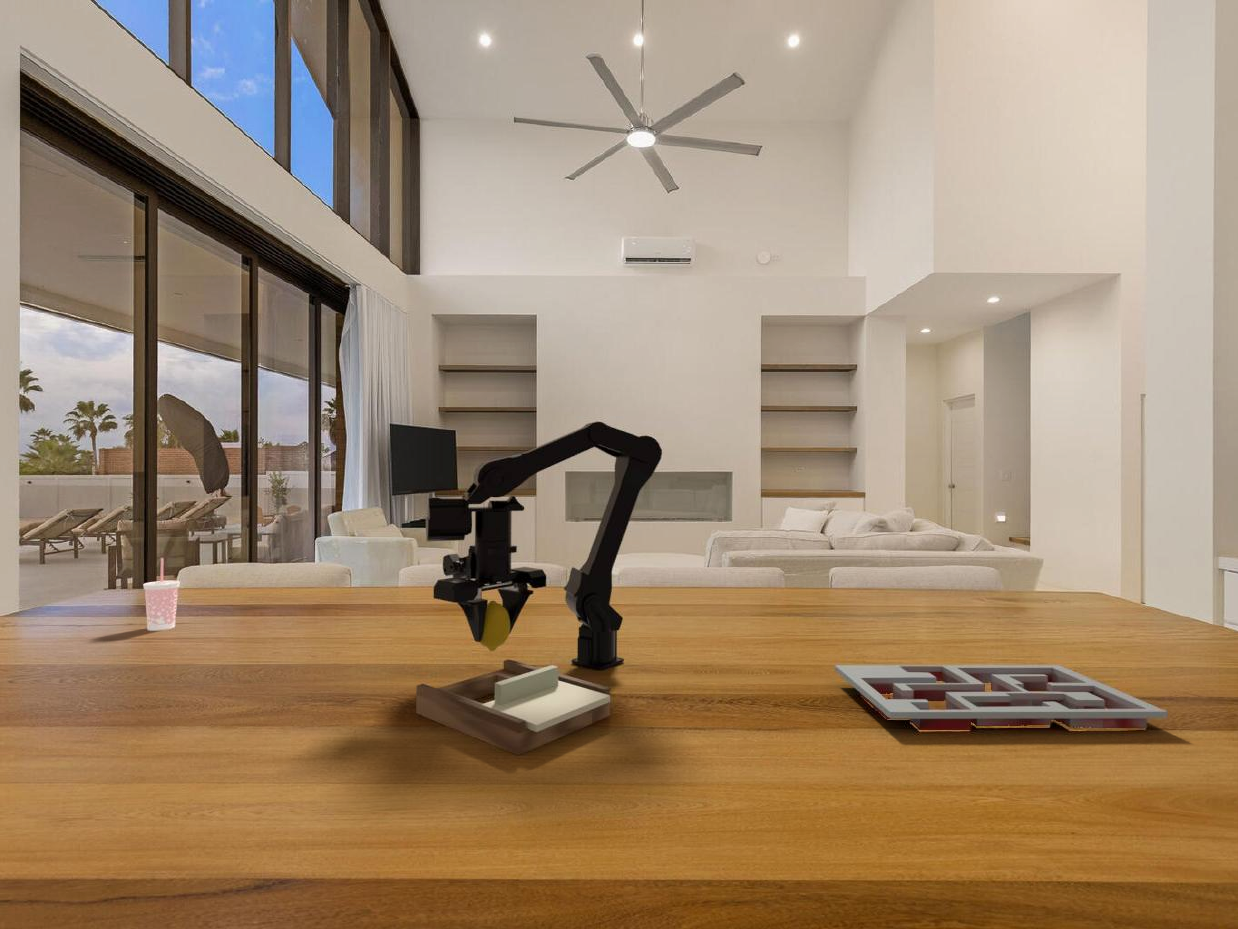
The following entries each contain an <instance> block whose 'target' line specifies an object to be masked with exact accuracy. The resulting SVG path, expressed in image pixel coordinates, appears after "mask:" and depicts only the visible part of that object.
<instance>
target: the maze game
mask: <svg viewBox="0 0 1238 929" xmlns="http://www.w3.org/2000/svg"><path fill="white" fill-rule="evenodd" d="M834 671H835V672H836V673H837V674H839V676H840V677H842V679H844V680H845V681H846V682H847V683H848V684H850V686H852V687H853V688H854V689H855V690H856V691H858V692H859V694H860V695H861V696H862V697H863V698H864V699H865V700H866V701H867V702H869V703H870V704H871V705H872V706H873V707H874V708H875V709H876V710H877V711H878V712H880V713H881V714H882V715H883V716H884V717H885V718H886V719H910V721H909V723H910V722H911V723H913V724H914V725H915V726H916V727H917V728H918V729H919V730H971V731H972V725H971V722H972V723H974V724H975V725H976V726H1008V725H1009V726H1021V725H1022V726H1023V725H1024V726H1027V725H1051V726H1052V723H1051V720H1052V719H1053V720H1056V721H1058V722H1062V723H1063V724H1065V725H1066V726H1068V727H1070V728H1071V727H1072V728H1075V727H1076V728H1078V727H1079V728H1080V727H1083V728H1086V727H1087V728H1089V727H1091V728H1147V729H1148V724H1147V723H1148V722H1147V721H1148V720H1147V719H1168V711H1167V710H1164V709H1162V708H1160V707H1157V706H1155V705H1153V704H1150V703H1149V702H1146V701H1144V700H1143V699H1142V700H1141V699H1140V698H1136V697H1134V696H1131V695H1130V694H1128V693H1125V692H1124V691H1120V690H1119V689H1116V688H1113V687H1112V686H1109V685H1107V684H1104V683H1101V682H1099V681H1097V680H1094V679H1093V678H1090V677H1088V676H1085V675H1084V674H1082V673H1081V674H1080V673H1079V672H1076V671H1075V670H1074V671H1073V670H1071V669H1069V668H1067V667H1065V666H1062V665H1060V664H1059V665H1058V664H1056V665H1055V664H1047V665H1046V664H1045V665H1044V664H1041V665H1040V664H1034V665H1031V664H1028V665H1027V664H1026V665H1024V664H1017V665H1016V664H1002V665H1001V664H998V665H997V664H993V665H992V664H989V665H987V664H985V665H984V664H973V665H972V664H971V665H970V664H966V665H965V664H964V665H961V664H957V665H956V664H953V665H952V664H944V665H943V664H942V665H941V664H940V665H939V664H938V665H934V664H932V665H931V664H929V665H928V664H927V665H925V664H924V665H923V664H920V665H919V664H918V665H915V664H913V665H912V664H906V665H905V664H903V665H901V664H897V665H896V664H895V665H894V664H893V665H891V664H890V665H889V664H888V665H885V664H880V665H879V664H878V665H877V664H873V665H872V664H870V665H869V664H867V665H866V664H864V665H863V664H859V665H858V664H857V665H856V664H855V665H854V664H845V665H844V664H843V665H842V664H834ZM936 681H943V682H945V683H936ZM989 682H990V683H991V690H992V691H994V692H985V684H984V683H989ZM1048 682H1053V683H1048ZM1029 691H1047V692H1029ZM886 693H887V694H890V693H893V698H892V699H891V698H889V697H888V699H887V698H885V697H883V696H882V695H881V694H886ZM944 700H945V701H946V709H945V710H943V709H942V710H941V709H940V710H939V709H938V708H937V709H931V708H930V709H929V701H944ZM1105 707H1106V708H1108V709H1105Z"/></svg>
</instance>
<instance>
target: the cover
mask: <svg viewBox="0 0 1238 929" xmlns="http://www.w3.org/2000/svg"><path fill="white" fill-rule="evenodd" d="M540 668H541V669H538V670H535V671H532V672H528V673H525V674H522V675H519V676H516V677H512V678H509V679H506V680H503V681H500V682H497V683H495V693H494V700H491V701H487V702H485V703H482V704H481V705H484V706H487V707H490V708H492V709H495V710H498V711H501V712H503V713H506V714H509V715H512V716H515V717H517V718H520V719H523V720H526V728H527V729H530V730H532V731H535V732H538V731H540V730H543V729H545V728H548V727H550V726H553V725H555V724H557V723H560V722H562V721H565V720H567V719H570V718H572V717H574V716H577V715H579V714H582V713H584V712H587V711H589V710H591V709H594V708H596V707H599V706H601V705H604V704H606V703H608V702H610V703H611V694H610V695H607V694H603V693H600V692H596V691H593V690H589V689H586V688H583V687H579V686H576V685H572V684H569V683H565V682H562V681H558V673H559V666H557V665H553V664H551V665H547V666H545V667H540Z"/></svg>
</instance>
